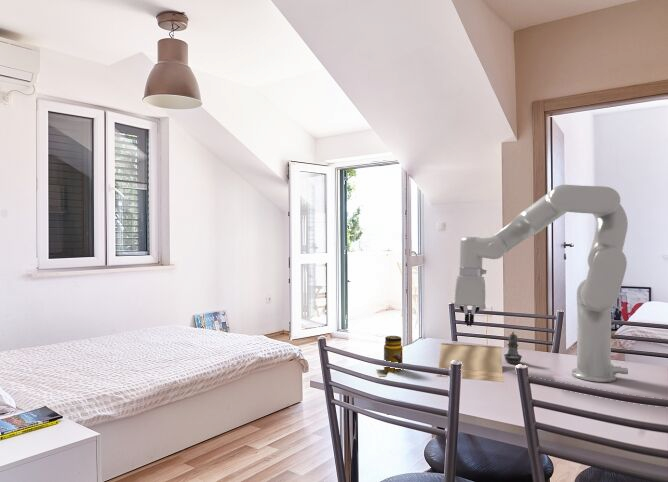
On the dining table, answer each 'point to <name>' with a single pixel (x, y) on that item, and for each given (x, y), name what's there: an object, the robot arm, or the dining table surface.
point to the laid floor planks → (480, 375)
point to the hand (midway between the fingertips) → (469, 325)
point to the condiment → (391, 354)
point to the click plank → (472, 357)
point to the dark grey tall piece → (512, 350)
